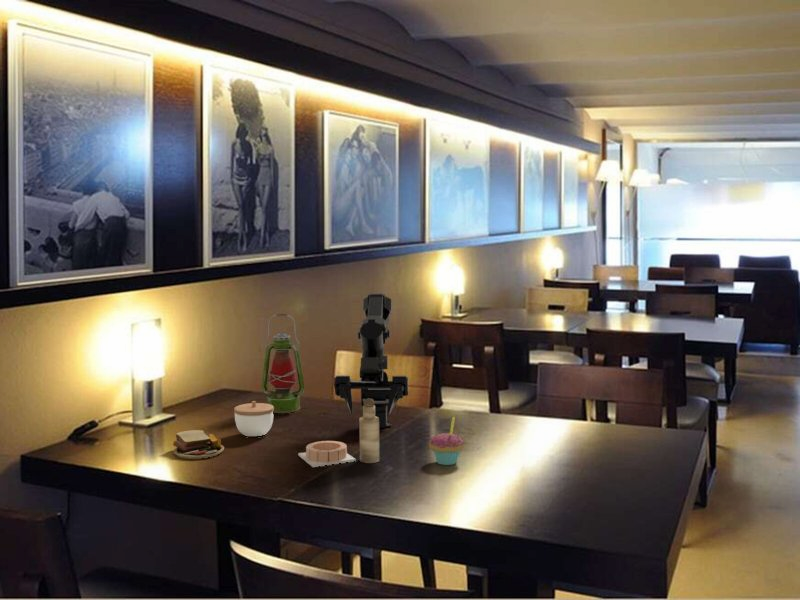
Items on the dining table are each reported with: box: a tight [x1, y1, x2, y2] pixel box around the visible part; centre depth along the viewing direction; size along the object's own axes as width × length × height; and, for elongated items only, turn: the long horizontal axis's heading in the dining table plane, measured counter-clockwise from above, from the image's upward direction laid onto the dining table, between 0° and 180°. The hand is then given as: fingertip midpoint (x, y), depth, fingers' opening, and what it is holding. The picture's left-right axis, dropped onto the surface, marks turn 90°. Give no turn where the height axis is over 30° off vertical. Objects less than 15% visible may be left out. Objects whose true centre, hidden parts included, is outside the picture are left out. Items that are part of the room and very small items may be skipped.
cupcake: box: [428, 414, 466, 466], centre depth 203 cm, size 9×8×12 cm
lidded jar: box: [233, 400, 274, 436], centre depth 230 cm, size 11×11×9 cm
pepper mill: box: [358, 398, 380, 464], centre depth 205 cm, size 5×5×16 cm
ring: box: [297, 440, 357, 468], centre depth 207 cm, size 11×11×3 cm
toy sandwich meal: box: [173, 429, 225, 460], centre depth 213 cm, size 12×14×5 cm
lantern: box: [261, 313, 305, 412], centre depth 258 cm, size 14×11×30 cm
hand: (370, 414), depth 208 cm, fingers open, 9 cm apart
